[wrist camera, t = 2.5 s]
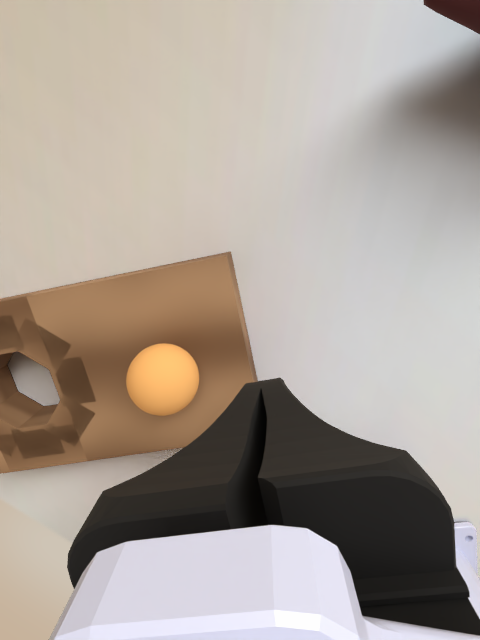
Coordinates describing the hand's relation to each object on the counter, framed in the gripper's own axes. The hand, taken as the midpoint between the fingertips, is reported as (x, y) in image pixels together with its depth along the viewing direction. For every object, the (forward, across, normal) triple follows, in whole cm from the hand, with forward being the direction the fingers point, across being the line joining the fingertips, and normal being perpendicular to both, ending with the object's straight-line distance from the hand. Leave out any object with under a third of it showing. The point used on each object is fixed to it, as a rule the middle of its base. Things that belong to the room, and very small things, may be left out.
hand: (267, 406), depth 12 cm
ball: (+4, +5, 0) cm, 6 cm away
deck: (+8, +10, 0) cm, 13 cm away
